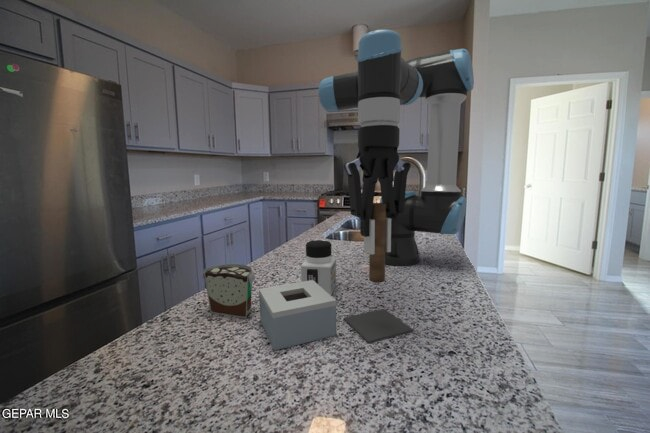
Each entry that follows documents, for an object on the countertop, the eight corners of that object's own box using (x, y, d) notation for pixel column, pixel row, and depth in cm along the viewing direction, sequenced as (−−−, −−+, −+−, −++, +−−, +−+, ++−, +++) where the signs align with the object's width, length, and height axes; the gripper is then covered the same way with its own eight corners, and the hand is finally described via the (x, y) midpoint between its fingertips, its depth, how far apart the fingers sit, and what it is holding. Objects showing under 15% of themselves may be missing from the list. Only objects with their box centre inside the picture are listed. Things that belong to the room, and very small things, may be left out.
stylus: (379, 276, 63) (380, 202, 61) (387, 281, 60) (389, 204, 58) (366, 278, 62) (366, 203, 60) (374, 283, 59) (375, 204, 57)
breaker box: (313, 309, 70) (312, 279, 69) (336, 335, 59) (336, 300, 58) (260, 320, 65) (258, 288, 64) (274, 350, 55) (272, 312, 53)
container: (331, 296, 77) (330, 245, 75) (301, 294, 79) (299, 244, 77) (336, 284, 85) (335, 238, 83) (308, 283, 86) (307, 237, 85)
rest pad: (383, 310, 69) (383, 308, 69) (413, 331, 60) (413, 329, 60) (343, 319, 65) (343, 317, 65) (368, 343, 56) (368, 341, 56)
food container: (267, 307, 72) (265, 265, 70) (252, 319, 66) (250, 274, 65) (222, 301, 76) (219, 261, 74) (205, 311, 70) (201, 269, 69)
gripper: (401, 130, 63) (399, 243, 67) (330, 127, 57) (331, 251, 61) (427, 125, 57) (423, 251, 60) (349, 121, 50) (349, 261, 54)
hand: (377, 251), depth 60 cm, fingers closed on stylus, 3 cm apart
